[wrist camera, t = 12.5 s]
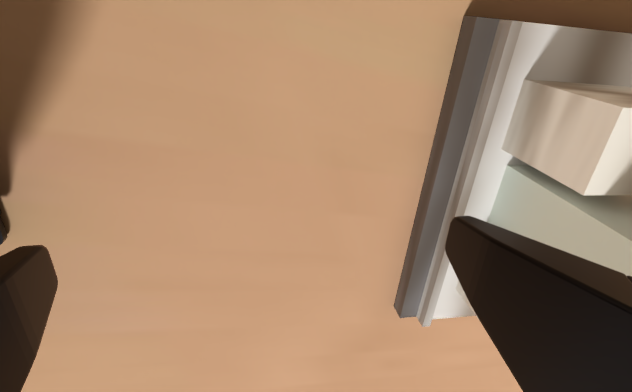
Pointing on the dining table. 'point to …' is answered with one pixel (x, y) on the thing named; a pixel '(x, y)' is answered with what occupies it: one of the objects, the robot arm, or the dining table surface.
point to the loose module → (565, 217)
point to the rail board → (516, 137)
